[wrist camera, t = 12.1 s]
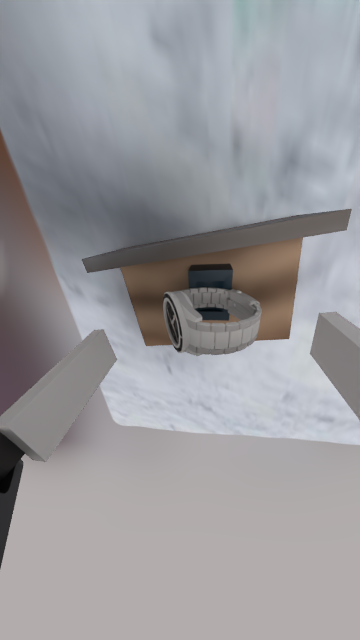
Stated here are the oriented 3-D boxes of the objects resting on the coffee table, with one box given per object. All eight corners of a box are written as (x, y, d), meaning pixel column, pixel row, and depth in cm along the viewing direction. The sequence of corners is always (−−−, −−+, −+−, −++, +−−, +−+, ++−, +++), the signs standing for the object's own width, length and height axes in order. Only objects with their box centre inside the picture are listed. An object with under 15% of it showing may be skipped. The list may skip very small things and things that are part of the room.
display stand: (122, 248, 22) (81, 259, 15) (296, 215, 18) (351, 208, 11) (149, 338, 28) (130, 375, 21) (283, 330, 24) (312, 373, 17)
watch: (174, 265, 20) (141, 301, 11) (246, 262, 19) (283, 301, 9) (177, 308, 23) (153, 369, 13) (241, 309, 21) (265, 377, 12)
